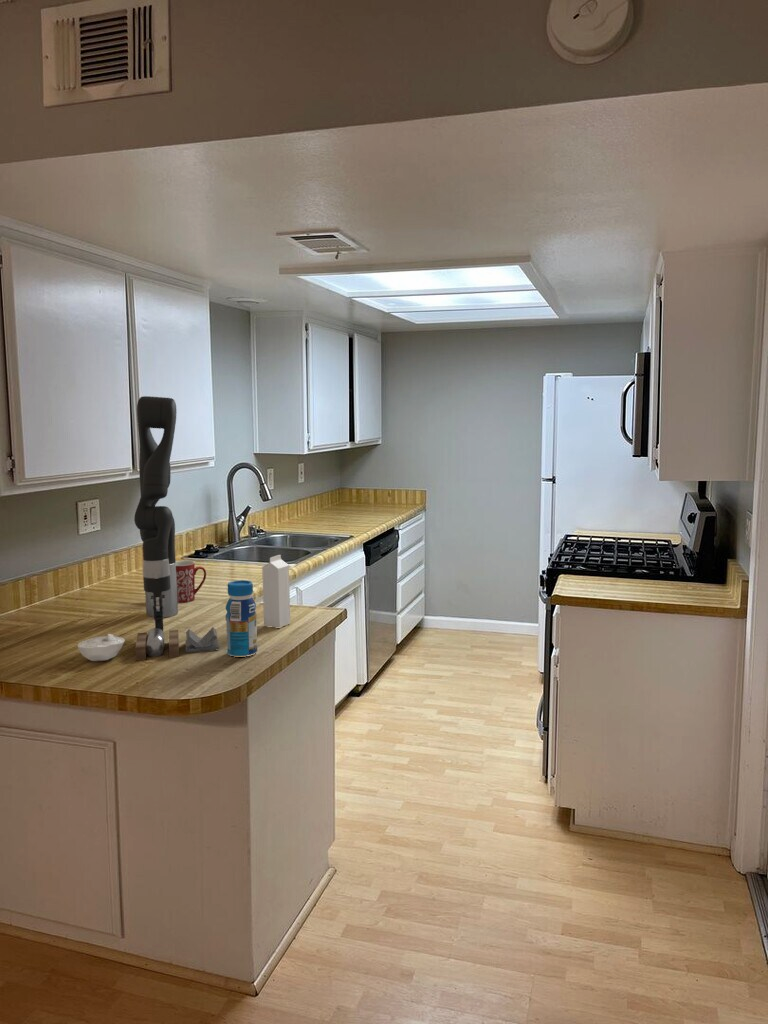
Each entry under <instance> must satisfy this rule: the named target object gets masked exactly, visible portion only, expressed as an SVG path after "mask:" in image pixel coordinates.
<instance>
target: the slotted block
mask: <svg viewBox="0 0 768 1024" xmlns="http://www.w3.org/2000/svg"><path fill="white" fill-rule="evenodd" d="M147 635H148V632H138V633H137V637H136V641H135V642H136V643H135V648H134V649H135V661H142V660H146V659H147V653H146V642H147ZM179 637H180V636H179V629H173V630H169V632H168V654H169V656H168V657H169V658H175V657H176V658H177V657H180V642H179V641H180V639H179Z"/></svg>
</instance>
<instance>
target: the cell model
mask: <svg viewBox="0 0 768 1024" xmlns="http://www.w3.org/2000/svg"><path fill="white" fill-rule="evenodd" d="M125 641H126V639H124V638H123V637H121V636H116V635H113V634H112V633H107V635H103V636H94V637H92V638H88V639H86V640H83V641H79V643H78V644H77V648H78V650H79V652H80V654H81V655H82V657H84V658H86V660H87V659H88V660H89V661H91V662H104V661H108V660H110V659H113V658H114V657H116V656H118V654H119V652H120V651H121V649H122V647H123V645H124V643H125Z"/></svg>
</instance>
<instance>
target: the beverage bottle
mask: <svg viewBox="0 0 768 1024" xmlns="http://www.w3.org/2000/svg"><path fill="white" fill-rule="evenodd" d="M253 585H254V584H253V582H252V581H250V580H242V579H241V580H233V581H229V582H228V584H227V594H228V596H229V598H228V601H227V602H226V603H225V610H226V613H225V614H226V615H225V621H226V642H227V643H226V644H227V645H226V646H227V649H226V650H227V655H228V656H229V655H230V656H229V657H231V656H247V655H251V654H254V653H256V652H257V653H258V630H257V629H258V628H257V627H258V625H257V620H258V619H257V618H258V613H257V611H256V609H257V604H256V602H255V599H254V598H253V597H252V595H253V594H254V586H253ZM257 653H256V654H257Z"/></svg>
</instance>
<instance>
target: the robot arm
mask: <svg viewBox="0 0 768 1024" xmlns="http://www.w3.org/2000/svg"><path fill="white" fill-rule="evenodd" d="M136 417H137V419H136V420H137V421H136V422H137V431H138V441H139V443H138V444H139V462H138V463H139V471H138V472H139V487H140V488H139V490H140V498H139V502H138V505H137V507H136V509H135V512H134V518H133V519H134V520H133V521H134V524H135V527H136V528H137V529H138V530H139V535H140V539H141V541H142V558H143V559H142V560H143V561H142V578H143V579H142V580H143V590H144V595H145V596H144V598H145V615H146V616H149V617H151V618H153V620H154V627H155V628H159V629H161V630H162V631H163V632H164V620H165V619H164V618H169V617H173V616H176V615H177V614H179V606H178V602H177V581H176V561H177V559H176V547H175V546H176V542H175V541H176V523H175V522H176V521H175V517H174V515H173V512H172V510H171V509H170V508H169V506H164V505H162V506H161V505H160V506H159V505H156V504H157V503H158V502H159V501H160V500H161V499H164V498H166V497H167V496H168V492H169V491H168V489H169V486H170V485H171V477H172V475H171V462H170V461H171V455H172V450H173V445H174V439H175V438H174V437H175V430H176V423H177V422H176V421H177V405H176V400H175V399H174V398H172V397H164V396H163V397H162V396H147V395H145V396H141V397H139V398H138V400H137V406H136ZM151 429H162V430H163V434H162V437H161V440H160V442H159V444H158V443H157V442H156V440H155V438H154V436H153V434H152V430H151Z"/></svg>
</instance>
